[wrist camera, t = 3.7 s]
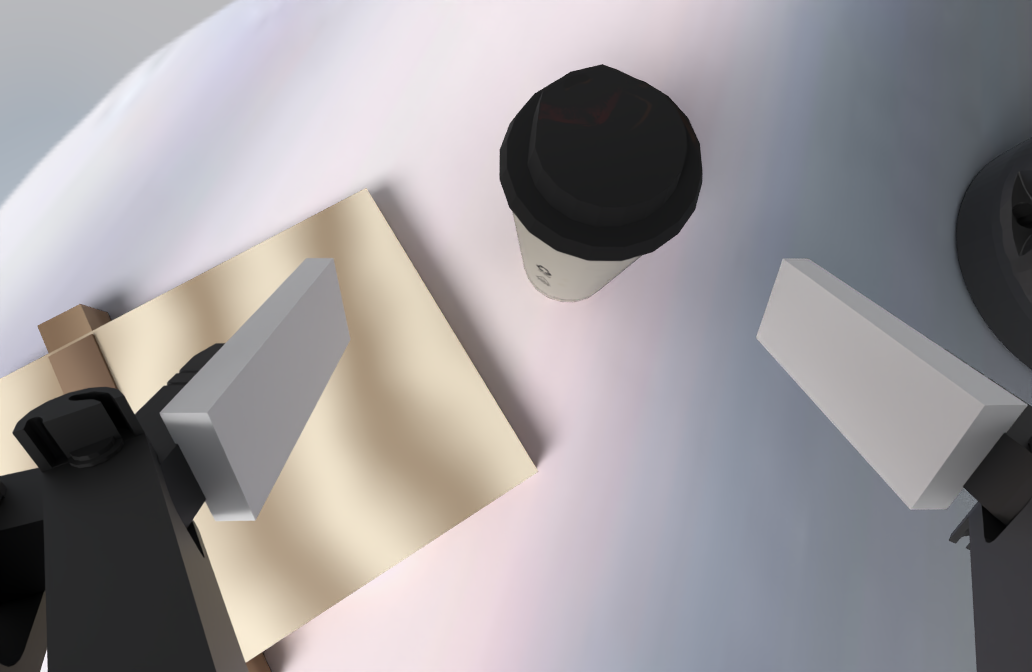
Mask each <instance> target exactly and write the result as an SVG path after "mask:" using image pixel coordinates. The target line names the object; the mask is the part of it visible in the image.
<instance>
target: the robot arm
mask: <svg viewBox="0 0 1032 672" xmlns="http://www.w3.org/2000/svg"><path fill="white" fill-rule="evenodd" d="M957 250H958V257H959V262H960V267H961V270H962V274H963V277H964V280H965V283H966V286H967V288H968V291H969V293H970V295H971V297H972V299H973V301H974V303H975V305H976V307H977V309H978V310H979V312H980V314H981V315H982V317H983V319H984V320H985V321H986V323H987V324H988V326H989V327H990V329H991V330H992V331H993V332H994V334H995V335H996V336H997V337H998V338H999V340H1000V341H1001V342H1002V343H1003V344H1004V345H1005V346H1006V347H1007V348H1008V349H1009V350H1010V351H1011V352H1012V353H1013V354H1014V355H1015V356H1016V357H1017V358H1018V359H1019V360H1020V361H1022V362H1023V363H1024V364H1025V365H1026V366H1028V367H1029V368H1030V369H1032V138H1030V139H1028V140H1026V141H1025V142H1023V143H1021V144H1019V145H1017V146H1016V147H1014V148H1012V149H1010V150H1009V151H1007V152H1005V153H1003V154H1002V155H1000V156H998V157H997V158H995V159H994V160H993V161H991V162H990V163H989V164H988V165H987V166H985V167H984V168H983V169H982V170H981V172H980V173H979V174H978V175H977V176H976V178H975V179H974V180H973V182H972V183H971V185H970V186H969V188H968V190H967V192H966V194H965V197H964V199H963V202H962V205H961V208H960V212H959V217H958V224H957ZM756 338H757V339H758V340H759V342H760V343H761V344H762V345H763V346H764V347H765V348H766V349H767V350H768V352H769V353H770V354H771V355H772V356H773V357H774V358H775V359H776V360H777V362H778V363H779V364H780V365H781V366H782V367H783V368H784V369H785V371H786V372H787V373H788V374H789V375H790V376H791V377H792V378H793V379H794V381H795V382H796V383H797V384H798V385H799V386H800V387H801V388H802V389H803V391H804V392H805V393H806V394H807V395H808V396H809V397H810V398H811V399H812V401H813V402H814V403H815V404H816V405H817V406H818V407H819V408H820V409H821V411H822V412H823V413H824V414H825V415H826V416H827V417H828V418H829V419H830V421H831V422H832V423H833V424H834V425H835V426H836V427H837V428H838V430H839V431H840V432H841V433H842V434H843V435H844V436H845V437H846V438H847V440H848V441H849V442H850V443H851V444H852V445H853V446H854V447H855V448H856V450H857V451H858V452H859V453H860V454H861V455H862V456H863V457H864V458H865V460H866V461H867V462H868V463H869V464H870V465H871V466H872V467H873V468H874V470H875V471H876V472H877V473H878V474H879V475H880V476H881V477H882V478H883V480H884V481H885V482H886V483H887V484H888V485H889V486H890V487H891V489H892V490H893V491H894V492H895V493H896V494H897V495H898V496H899V497H900V499H901V500H902V501H903V502H904V503H905V504H906V505H907V506H908V507H909V509H910V510H930V509H948V507H949V506H950V505H951V504H952V502H953V501H954V500H955V498H956V497H957V496H958V495H959V493H960V492H961V491H962V489H963V488H965V489H966V490H967V491H968V492H969V493H970V494H971V495H972V496H973V497H974V498H975V499H976V500H978V502H977V503H976V504H975V506H974V507H973V508H972V509H971V511H970V512H969V513H968V514H967V515H966V517H965V518H964V519H963V520H962V522H961V523H960V524H959V525H958V526H957V528H956V529H955V530H954V531H953V533H952V534H951V536H950V539H949V541H951V542H953V543H957V541H958V540H959V539H960V538H961V537H963V536H970V543H969V544H968V545H967V547H966V548H967V549H969V550H970V554H971V572H972V591H973V609H974V627H975V646H976V664H977V672H1032V406H1030V405H1029V404H1027V403H1026V402H1024V401H1023V400H1021V399H1020V398H1018V397H1016V396H1015V395H1013V394H1012V393H1010V392H1009V391H1007V390H1006V389H1004V388H1003V387H1001V386H1000V385H998V384H997V383H995V382H994V381H992V380H991V379H989V378H987V377H985V376H984V375H983V374H982V373H980V372H979V371H977V370H976V369H974V368H973V367H971V366H969V365H967V363H965V362H964V361H962V360H961V359H959V358H958V357H956V356H955V355H953V354H952V353H950V352H949V351H947V350H945V349H943V348H942V347H940V346H939V345H937V344H936V343H934V342H933V341H931V340H930V339H928V338H927V337H925V336H924V335H922V334H921V333H919V332H918V331H916V330H915V329H913V328H912V327H910V326H909V325H907V324H906V323H904V322H903V321H901V320H900V319H898V318H897V317H895V316H894V315H892V314H891V313H889V312H888V311H886V310H885V309H883V308H882V307H880V306H879V305H877V304H876V303H874V302H873V301H871V300H870V299H868V298H867V297H865V296H864V295H862V294H861V293H859V292H858V291H856V290H855V289H853V288H852V287H850V286H849V285H847V284H846V283H844V282H843V281H841V280H840V279H838V278H837V277H835V276H834V275H832V274H831V273H829V272H828V271H826V270H825V269H823V268H822V267H820V266H819V265H817V264H816V263H814V262H813V261H811V260H810V259H783V260H782V263H781V266H780V269H779V272H778V275H777V278H776V281H775V283H774V286H773V289H772V292H771V295H770V298H769V301H768V304H767V307H766V310H765V313H764V316H763V319H762V322H761V325H760V328H759V331H758V334H757V337H756ZM349 341H350V335H349V330H348V326H347V321H346V316H345V311H344V306H343V302H342V297H341V292H340V287H339V283H338V278H337V273H336V268H335V263H334V259H333V258H306V259H305V260H304V261H303V262H302V263H301V264H300V265H299V266H298V267H297V268H296V270H295V271H294V272H293V273H292V274H291V275H290V276H289V277H288V278H287V279H286V280H285V281H284V282H283V283H282V284H281V285H280V286H279V287H278V288H277V290H276V291H275V292H274V293H273V294H272V295H271V296H270V297H269V298H268V299H267V300H266V301H265V302H264V303H263V304H262V305H261V306H260V307H259V308H258V310H257V311H256V312H255V313H254V314H253V315H252V316H251V317H250V318H249V319H248V320H247V321H246V322H245V323H244V324H243V325H242V326H241V327H240V328H239V330H238V331H237V332H236V333H235V334H234V335H233V336H232V337H231V338H230V339H229V340H228V341H227V342H226V343H215V344H214V345H212V346H210V347H208V348H207V349H205V350H203V351H201V352H200V353H198V354H196V355H194V356H193V357H192V358H191V359H190V360H189V361H188V362H187V363H186V364H185V365H184V366H183V367H182V368H181V369H180V370H179V373H176V374H175V375H174V376H173V377H172V378H171V379H170V380H169V381H168V382H167V386H163V387H162V388H161V389H160V390H159V391H158V392H157V393H156V394H155V395H154V396H153V397H152V398H151V399H150V400H149V401H148V402H147V403H146V404H145V405H143V406H142V407H141V408H140V409H139V410H138V411H137V412H136V413H135V414H134V412H133V410H132V409H131V407H130V405H129V403H128V401H127V400H126V398H125V396H124V395H123V394H122V393H121V391H120V390H119V389H115V388H110V387H93V388H86V389H82V390H78V391H74V392H70V393H67V394H64V395H62V396H59V397H57V398H54V399H51V400H49V401H47V402H45V403H43V404H42V405H40V406H38V407H36V408H35V409H33V410H31V411H30V412H28V413H27V414H26V415H25V416H24V417H23V418H22V419H20V420H19V421H18V422H17V424H16V426H15V428H14V430H13V432H12V434H13V435H14V436H15V438H16V439H17V440H18V441H19V443H20V444H21V445H22V447H23V448H24V449H25V451H26V452H27V453H28V455H29V456H30V457H31V459H32V460H33V461H34V462H35V464H36V465H37V466H38V468H34V469H30V470H25V471H21V472H16V473H11V474H7V475H2V476H0V672H40V670H41V666H42V663H43V660H44V657H45V653H46V650H47V658H48V672H249V671H248V668H247V666H246V663H245V660H244V657H243V654H242V651H241V648H240V646H239V643H238V640H237V637H236V634H235V631H234V628H233V626H232V623H231V620H230V617H229V614H228V611H227V608H226V606H225V603H224V600H223V597H222V594H221V591H220V588H219V586H218V583H217V580H216V577H215V574H214V571H213V568H212V566H211V563H210V560H209V557H208V554H207V551H206V548H205V546H204V543H203V540H202V537H201V534H200V531H199V529H198V527H197V525H196V524H195V522H194V520H193V519H194V517H195V516H196V514H197V513H198V511H199V510H200V508H201V507H202V505H203V504H204V502H206V504H207V506H208V508H209V510H210V512H211V514H212V516H213V518H214V520H215V521H256V519H257V517H258V515H259V513H260V511H261V509H262V507H263V505H264V503H265V501H266V500H267V498H268V496H269V494H270V492H271V490H272V488H273V486H274V484H275V482H276V480H277V479H278V477H279V475H280V473H281V471H282V469H283V467H284V465H285V463H286V461H287V460H288V458H289V456H290V454H291V452H292V450H293V448H294V446H295V444H296V442H297V440H298V439H299V437H300V435H301V433H302V431H303V429H304V427H305V425H306V423H307V421H308V420H309V418H310V416H311V414H312V412H313V410H314V408H315V406H316V404H317V402H318V400H319V399H320V397H321V395H322V393H323V391H324V389H325V387H326V385H327V383H328V381H329V380H330V378H331V376H332V374H333V372H334V370H335V368H336V366H337V364H338V362H339V360H340V359H341V357H342V355H343V353H344V351H345V349H346V347H347V345H348V343H349Z"/></svg>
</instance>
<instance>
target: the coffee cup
mask: <svg viewBox="0 0 1032 672" xmlns="http://www.w3.org/2000/svg"><path fill="white" fill-rule="evenodd" d="M500 182H501V185H502V187H503V190H504V193H505V196H506V199H507V202H508V205H509V207H510V209H511V210H512V211H513V216H514V221H515V226H516V231H517V235H518V240H519V245H520V250H521V255H522V259H523V264H524V268H525V271H526V274H527V277H528V279H529V280H530V282H531V283H532V284H533V286H534V287H535V288H536V290H538V291H539V292H541V293H542V294H544V295H545V296H547V297H548V298H551V299H554V300H557V301H561V302H576V301H580V300H583V299H586V298H589V297H590V296H592V295H593V294H594V293H596V292H597V291H599V290H600V289H601V288H602V287H604V286H605V285H606V284H607V283H609V282H610V281H611V280H612V279H613V278H615V277H616V276H617V275H618V274H620V273H621V272H622V271H623V270H625V269H626V268H627V267H628V266H629V265H631V264H632V263H633V262H634V261H636V260H637V259H638V258H639V257H641V256H642V255H644V254H647V253H651V252H653V251H655V250H656V249H658V248H659V247H660V246H662V245H663V244H665V243H666V242H667V241H669V240H670V239H672V238H673V237H674V236H676V235H677V234H678V233H679V232H680V230H681V229H682V228H683V226H684V225H685V223H686V222H687V220H688V219H689V218H690V216H691V215H692V213H693V212H694V210H695V208H696V204H697V200H698V196H699V192H700V189H701V185H702V162H701V152H700V143H699V141H698V139H697V137H696V134H695V132H694V130H693V128H692V126H691V123H690V121H689V119H688V117H687V116H686V115H685V114H684V113H683V112H682V111H681V110H680V109H679V107H678V106H677V105H676V104H675V103H674V102H673V101H672V100H671V99H670V98H669V96H667V95H665V94H664V93H662V92H661V91H659V90H657V89H656V88H654V87H652V86H651V85H649V84H648V83H646V82H644V81H642V80H638V79H636V78H634V77H632V76H629V75H627V74H625V73H623V72H621V71H619V70H616V69H614V68H611V67H608V66H606V65H603V64H602V65H598V66H593V67H589V68H585V69H581V70H576V71H572V72H569V73H568V74H566V75H565V76H563V77H562V78H560V79H558V80H556V81H555V82H553V83H551V84H550V85H548V86H547V87H545V88H543V89H542V90H540V91H538V92H537V93H535V94H534V95H533V96H532V97H531V98H530V100H529V101H528V102H527V103H526V104H525V106H524V107H523V108H522V109H521V110H520V111H519V113H518V114H517V115H516V116H515V118H514V119H513V120H512V121H511V123H510V124H509V127H508V130H507V132H506V135H505V138H504V140H503V143H502V146H501V148H500Z"/></svg>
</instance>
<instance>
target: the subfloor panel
mask: <svg viewBox="0 0 1032 672" xmlns="http://www.w3.org/2000/svg"><path fill="white" fill-rule="evenodd" d="M306 258H333V259H334V263H335V268H336V273H337V278H338V283H339V287H340V292H341V297H342V302H343V306H344V311H345V316H346V321H347V326H348V330H349V335H350V341H349V343H348V345H347V347H346V349H345V351H344V353H343V355H342V357H341V359H340V360H339V362H338V364H337V366H336V368H335V370H334V372H333V374H332V376H331V378H330V380H329V381H328V383H327V385H326V387H325V389H324V391H323V393H322V395H321V397H320V399H319V400H318V402H317V404H316V406H315V408H314V410H313V412H312V414H311V416H310V418H309V420H308V421H307V423H306V425H305V427H304V429H303V431H302V433H301V435H300V437H299V439H298V440H297V442H296V444H295V446H294V448H293V450H292V452H291V454H290V456H289V458H288V460H287V461H286V463H285V465H284V467H283V469H282V471H281V473H280V475H279V477H278V479H277V480H276V482H275V484H274V486H273V488H272V490H271V492H270V494H269V496H268V498H267V500H266V501H265V503H264V505H263V507H262V509H261V511H260V513H259V515H258V517H257V519H256V521H215V520H214V518H213V516H212V514H211V512H210V510H209V508H208V506H207V504H206V502H204V504H203V505H202V507H201V508H200V510H199V511H198V513H197V514H196V516H195V517H194V519H193V520H194V522H195V524H196V525H197V527H198V529H199V531H200V534H201V537H202V540H203V543H204V546H205V548H206V551H207V554H208V557H209V560H210V563H211V566H212V568H213V571H214V574H215V577H216V580H217V583H218V586H219V588H220V591H221V594H222V597H223V600H224V603H225V606H226V608H227V611H228V614H229V617H230V620H231V623H232V626H233V628H234V631H235V634H236V637H237V640H238V643H239V646H240V648H241V651H242V654H243V657H244V660H245V663H246V666H247V668H248V671H249V672H271V670H270V668H269V666H268V664H267V661H266V659H265V657H264V655H263V653H262V652H263V651H264V650H266V649H268V648H269V647H271V646H272V645H274V644H275V643H277V642H278V641H280V640H281V639H283V638H284V637H286V636H287V635H289V634H290V633H292V632H294V631H295V630H297V629H298V628H300V627H301V626H303V625H304V624H306V623H307V622H309V621H310V620H312V619H313V618H315V617H317V616H318V615H320V614H321V613H323V612H324V611H326V610H327V609H329V608H330V607H332V606H333V605H335V604H336V603H338V602H340V601H341V600H343V599H344V598H346V597H347V596H349V595H350V594H352V593H353V592H355V591H356V590H358V589H359V588H361V587H362V586H364V585H366V584H367V583H369V582H370V581H372V580H373V579H375V578H376V577H378V576H379V575H381V574H382V573H384V572H385V571H387V570H389V569H390V568H392V567H393V566H395V565H396V564H398V563H399V562H401V561H402V560H404V559H405V558H407V557H408V556H410V555H411V554H413V553H415V552H416V551H418V550H419V549H421V548H422V547H424V546H425V545H427V544H428V543H430V542H431V541H433V540H434V539H436V538H438V537H439V536H441V535H442V534H444V533H445V532H447V531H448V530H450V529H451V528H453V527H454V526H456V525H457V524H459V523H461V522H462V521H464V520H465V519H467V518H468V517H470V516H471V515H473V514H474V513H476V512H477V511H479V510H480V509H482V508H483V507H485V506H487V505H488V504H490V503H491V502H493V501H494V500H496V499H497V498H499V497H500V496H502V495H503V494H505V493H506V492H508V491H510V490H511V489H513V488H514V487H516V486H517V485H519V484H520V483H522V482H523V481H525V480H526V479H528V478H529V477H531V476H532V475H534V474H536V473H537V472H538V470H537V469H536V467H535V465H534V464H533V462H532V460H531V459H530V457H529V455H528V454H527V452H526V450H525V449H524V447H523V445H522V444H521V442H520V441H519V439H518V437H517V436H516V434H515V432H514V431H513V429H512V427H511V426H510V424H509V422H508V421H507V419H506V417H505V416H504V414H503V412H502V411H501V409H500V408H499V406H498V404H497V403H496V401H495V399H494V398H493V396H492V394H491V393H490V391H489V389H488V388H487V386H486V384H485V383H484V381H483V380H482V378H481V376H480V375H479V373H478V371H477V370H476V368H475V366H474V365H473V363H472V361H471V360H470V358H469V356H468V355H467V353H466V351H465V350H464V348H463V347H462V345H461V343H460V342H459V340H458V338H457V337H456V335H455V333H454V332H453V330H452V328H451V327H450V325H449V323H448V322H447V320H446V319H445V317H444V315H443V314H442V312H441V310H440V309H439V307H438V305H437V304H436V302H435V300H434V299H433V297H432V295H431V294H430V292H429V290H428V289H427V287H426V286H425V284H424V282H423V281H422V279H421V277H420V276H419V274H418V272H417V271H416V269H415V267H414V266H413V264H412V262H411V261H410V259H409V258H408V256H407V254H406V253H405V251H404V249H403V248H402V246H401V244H400V243H399V241H398V239H397V238H396V236H395V234H394V233H393V231H392V229H391V228H390V226H389V225H388V223H387V221H386V220H385V218H384V216H383V215H382V213H381V211H380V210H379V208H378V206H377V205H376V203H375V201H374V200H373V198H372V196H371V195H370V193H369V192H368V190H367V188H365V189H363V190H361V191H360V192H358V193H356V194H354V195H352V196H350V197H348V198H346V199H344V200H342V201H340V202H338V203H337V204H335V205H333V206H331V207H329V208H327V209H325V210H323V211H321V212H319V213H317V214H315V215H314V216H312V217H310V218H308V219H306V220H304V221H302V222H300V223H298V224H296V225H294V226H292V227H291V228H289V229H287V230H285V231H283V232H281V233H279V234H277V235H275V236H273V237H271V238H269V239H268V240H266V241H264V242H262V243H260V244H258V245H256V246H254V247H252V248H250V249H248V250H246V251H245V252H243V253H241V254H239V255H237V256H235V257H233V258H231V259H229V260H227V261H225V262H223V263H222V264H220V265H218V266H216V267H214V268H212V269H210V270H208V271H206V272H204V273H202V274H200V275H199V276H197V277H195V278H193V279H191V280H189V281H187V282H185V283H183V284H181V285H179V286H177V287H176V288H174V289H172V290H170V291H168V292H166V293H164V294H162V295H160V296H158V297H156V298H154V299H153V300H151V301H149V302H147V303H145V304H143V305H141V306H139V307H137V308H135V309H133V310H131V311H130V312H128V313H126V314H124V315H122V316H120V317H118V318H116V319H114V320H112V321H111V319H110V317H109V314H108V313H107V312H104V311H101V310H98V309H95V308H91V307H88V306H85V305H82V304H79V305H77V306H75V307H73V308H71V309H69V310H68V311H66V312H64V313H62V314H60V315H58V316H56V317H54V318H52V319H50V320H48V321H46V322H44V323H42V324H40V325H38V329H39V331H40V333H41V336H42V338H43V340H44V343H45V345H46V348H47V350H48V352H49V354H47V355H45V356H43V357H41V358H39V359H38V360H36V361H34V362H32V363H30V364H28V365H26V366H24V367H22V368H20V369H18V370H16V371H15V372H13V373H11V374H9V375H7V376H5V377H3V378H1V379H0V476H2V475H7V474H11V473H16V472H21V471H25V470H30V469H34V468H38V466H37V465H36V464H35V462H34V461H33V460H32V459H31V457H30V456H29V455H28V453H27V452H26V451H25V449H24V448H23V447H22V445H21V444H20V443H19V441H18V440H17V439H16V438H15V436H14V435H13V434H12V432H13V430H14V428H15V426H16V424H17V422H18V421H19V420H20V419H22V418H23V417H24V416H25V415H26V414H27V413H28V412H30V411H31V410H33V409H35V408H36V407H38V406H40V405H42V404H43V403H45V402H47V401H49V400H51V399H54V398H57V397H59V396H62V395H64V394H67V393H70V392H74V391H78V390H82V389H86V388H93V387H110V388H115V389H119V390H120V391H121V393H122V394H123V395H124V396H125V398H126V400H127V401H128V403H129V405H130V407H131V409H132V410H133V412H134V414H135V413H136V412H137V411H138V410H139V409H140V408H141V407H142V406H143V405H145V404H146V403H147V402H148V401H149V400H150V399H151V398H152V397H153V396H154V395H155V394H156V393H157V392H158V391H159V390H160V389H161V388H162V387H163V386H167V382H168V381H169V380H170V379H171V378H172V377H173V376H174V375H175V374H176V373H179V370H180V369H181V368H182V367H183V366H184V365H185V364H186V363H187V362H188V361H189V360H190V359H191V358H192V357H193V356H194V355H196V354H198V353H200V352H201V351H203V350H205V349H207V348H208V347H210V346H212V345H214V344H215V343H226V342H227V341H228V340H229V339H230V338H231V337H232V336H233V335H234V334H235V333H236V332H237V331H238V330H239V328H240V327H241V326H242V325H243V324H244V323H245V322H246V321H247V320H248V319H249V318H250V317H251V316H252V315H253V314H254V313H255V312H256V311H257V310H258V308H259V307H260V306H261V305H262V304H263V303H264V302H265V301H266V300H267V299H268V298H269V297H270V296H271V295H272V294H273V293H274V292H275V291H276V290H277V288H278V287H279V286H280V285H281V284H282V283H283V282H284V281H285V280H286V279H287V278H288V277H289V276H290V275H291V274H292V273H293V272H294V271H295V270H296V268H297V267H298V266H299V265H300V264H301V263H302V262H303V261H304V260H305V259H306Z"/></svg>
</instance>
